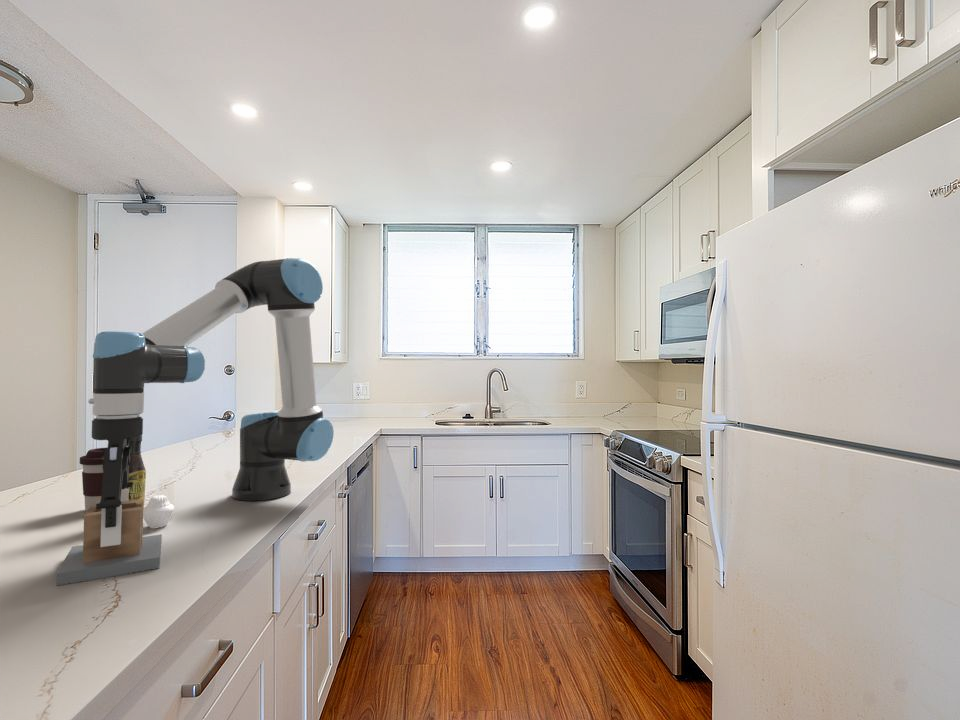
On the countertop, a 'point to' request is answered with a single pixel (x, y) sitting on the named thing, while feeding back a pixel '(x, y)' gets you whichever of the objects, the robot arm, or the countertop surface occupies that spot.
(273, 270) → the robot arm
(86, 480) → the coffee cup
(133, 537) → the brown hollow block
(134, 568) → the shaft stand
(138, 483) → the sauce bottle
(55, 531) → the countertop surface
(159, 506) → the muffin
